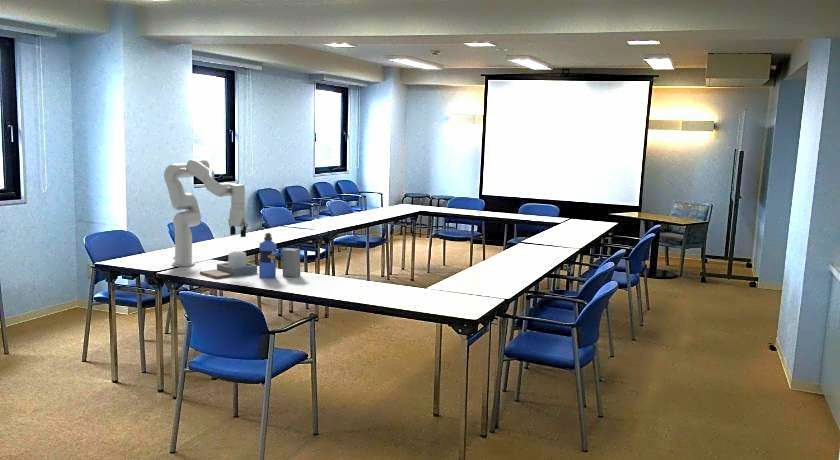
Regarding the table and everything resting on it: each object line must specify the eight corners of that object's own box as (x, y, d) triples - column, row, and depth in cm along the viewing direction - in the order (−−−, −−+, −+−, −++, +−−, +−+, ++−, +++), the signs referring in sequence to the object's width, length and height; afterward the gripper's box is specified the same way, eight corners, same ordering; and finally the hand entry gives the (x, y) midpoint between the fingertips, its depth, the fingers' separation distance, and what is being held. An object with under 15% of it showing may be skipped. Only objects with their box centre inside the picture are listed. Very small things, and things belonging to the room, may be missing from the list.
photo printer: (244, 271, 407) (244, 250, 405) (246, 272, 403) (247, 251, 402) (226, 272, 401) (227, 251, 399) (229, 273, 398) (229, 252, 396)
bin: (216, 271, 401) (216, 264, 400) (240, 268, 413) (240, 260, 413) (233, 276, 391) (233, 268, 390) (257, 272, 403) (257, 265, 403)
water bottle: (279, 276, 397) (280, 233, 393) (269, 279, 388) (269, 235, 385) (265, 274, 400) (266, 231, 397) (255, 277, 392) (256, 233, 388)
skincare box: (300, 275, 402) (301, 248, 399) (294, 278, 395) (295, 250, 393) (287, 274, 404) (288, 247, 402) (281, 276, 398) (281, 248, 395)
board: (200, 274, 393) (200, 271, 392) (215, 271, 400) (215, 269, 400) (216, 279, 383) (216, 276, 382) (232, 276, 390) (232, 274, 390)
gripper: (223, 204, 399) (223, 234, 402) (241, 207, 388) (241, 238, 391) (234, 204, 405) (234, 233, 407) (252, 207, 394) (252, 237, 397)
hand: (238, 235), depth 399 cm, fingers open, 9 cm apart
